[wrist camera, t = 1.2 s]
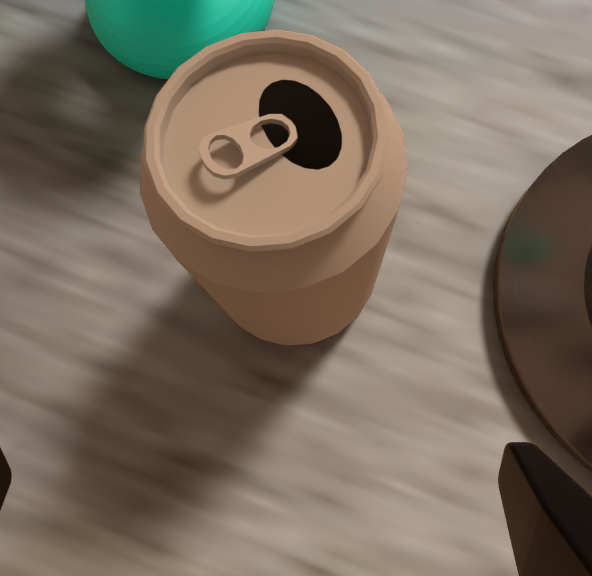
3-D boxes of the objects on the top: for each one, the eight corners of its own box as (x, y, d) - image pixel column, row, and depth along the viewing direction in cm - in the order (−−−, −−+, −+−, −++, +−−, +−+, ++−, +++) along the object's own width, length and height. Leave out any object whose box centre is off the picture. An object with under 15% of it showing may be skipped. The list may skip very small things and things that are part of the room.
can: (406, 294, 23) (482, 169, 12) (266, 379, 23) (200, 335, 11) (321, 170, 25) (314, -43, 14) (189, 246, 25) (66, 90, 13)
